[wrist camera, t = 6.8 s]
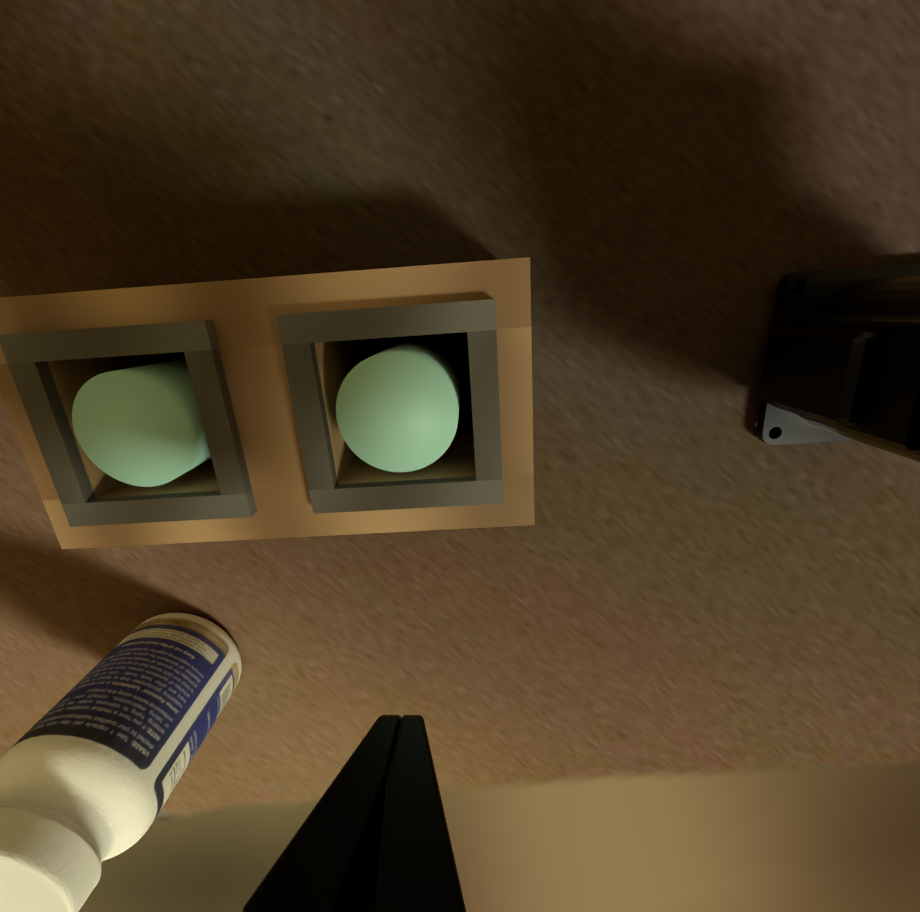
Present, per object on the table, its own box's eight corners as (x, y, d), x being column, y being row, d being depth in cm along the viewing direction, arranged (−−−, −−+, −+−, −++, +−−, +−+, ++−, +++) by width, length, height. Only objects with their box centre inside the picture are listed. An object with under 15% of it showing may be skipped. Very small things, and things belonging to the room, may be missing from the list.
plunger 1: (257, 350, 18) (174, 366, 13) (275, 437, 19) (206, 483, 14) (169, 357, 18) (54, 375, 13) (192, 442, 19) (94, 489, 14)
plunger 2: (458, 336, 17) (453, 347, 12) (464, 426, 18) (462, 468, 13) (367, 342, 17) (326, 356, 12) (378, 431, 19) (345, 475, 14)
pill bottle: (111, 624, 22) (-154, 858, 13) (211, 594, 21) (9, 817, 12) (171, 708, 24) (-25, 970, 14) (265, 682, 23) (124, 940, 14)
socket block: (512, 271, 17) (531, 255, 11) (518, 471, 19) (536, 530, 14) (102, 302, 17) (-53, 299, 12) (159, 491, 20) (51, 555, 15)
